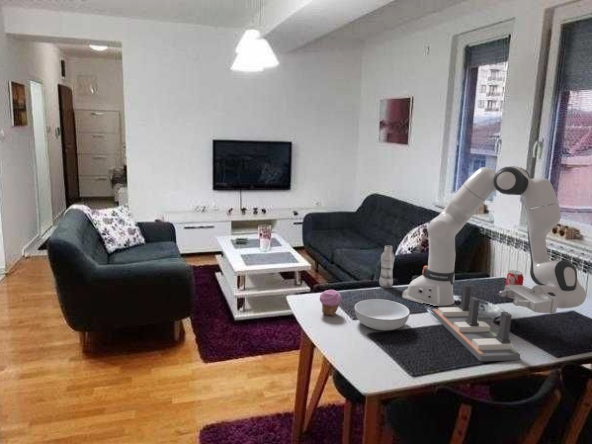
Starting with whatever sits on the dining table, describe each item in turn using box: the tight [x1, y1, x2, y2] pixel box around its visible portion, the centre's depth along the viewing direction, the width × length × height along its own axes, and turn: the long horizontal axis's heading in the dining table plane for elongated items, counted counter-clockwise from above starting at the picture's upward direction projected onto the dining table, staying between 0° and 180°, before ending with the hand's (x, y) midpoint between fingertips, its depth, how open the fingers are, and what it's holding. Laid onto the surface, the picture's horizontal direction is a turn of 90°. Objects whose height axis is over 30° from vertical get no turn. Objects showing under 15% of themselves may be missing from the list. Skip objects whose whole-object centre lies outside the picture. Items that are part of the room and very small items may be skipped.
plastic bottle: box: [378, 244, 396, 288], centre depth 221 cm, size 6×7×20 cm
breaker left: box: [457, 283, 472, 311], centre depth 187 cm, size 3×4×10 cm
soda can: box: [504, 269, 524, 300], centre depth 214 cm, size 7×7×12 cm
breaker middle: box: [465, 296, 480, 326], centre depth 172 cm, size 3×4×10 cm
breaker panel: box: [431, 306, 521, 362], centre depth 174 cm, size 14×40×4 cm, turn 7°
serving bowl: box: [354, 298, 411, 331], centre depth 179 cm, size 21×21×7 cm
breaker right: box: [495, 311, 513, 344], centre depth 159 cm, size 3×4×10 cm
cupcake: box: [319, 289, 343, 317], centre depth 188 cm, size 9×9×10 cm
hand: (506, 298), depth 173 cm, fingers open, 8 cm apart
